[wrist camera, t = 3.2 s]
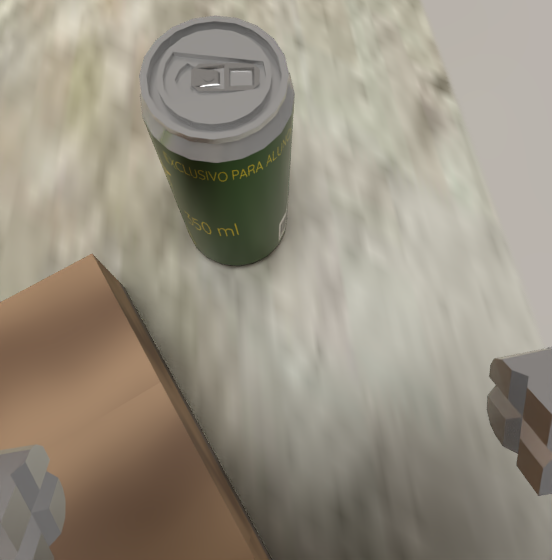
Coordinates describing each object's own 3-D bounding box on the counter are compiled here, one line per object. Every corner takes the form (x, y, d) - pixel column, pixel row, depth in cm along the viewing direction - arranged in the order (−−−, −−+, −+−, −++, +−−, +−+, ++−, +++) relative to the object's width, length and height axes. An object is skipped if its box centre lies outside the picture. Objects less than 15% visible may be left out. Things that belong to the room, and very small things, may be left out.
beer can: (284, 180, 29) (293, 9, 17) (288, 269, 27) (298, 144, 16) (190, 182, 29) (137, 11, 17) (188, 271, 27) (126, 147, 16)
